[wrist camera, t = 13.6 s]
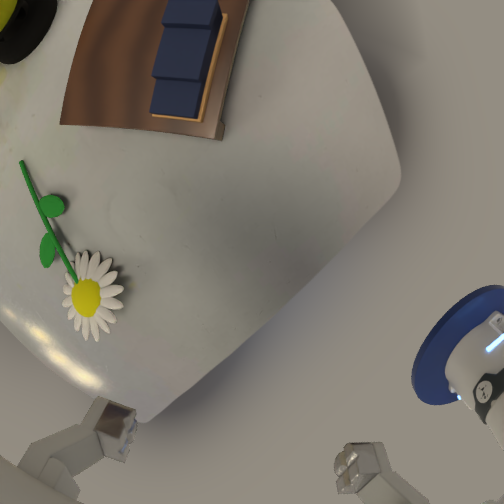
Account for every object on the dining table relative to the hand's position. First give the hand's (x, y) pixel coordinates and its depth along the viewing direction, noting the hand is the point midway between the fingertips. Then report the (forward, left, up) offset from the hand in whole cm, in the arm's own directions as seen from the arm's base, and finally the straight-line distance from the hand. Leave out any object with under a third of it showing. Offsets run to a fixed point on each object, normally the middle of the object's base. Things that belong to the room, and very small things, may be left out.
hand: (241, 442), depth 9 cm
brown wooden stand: (+15, -21, -30) cm, 40 cm away
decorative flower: (+27, +7, -30) cm, 41 cm away
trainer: (+10, -17, -23) cm, 30 cm away
